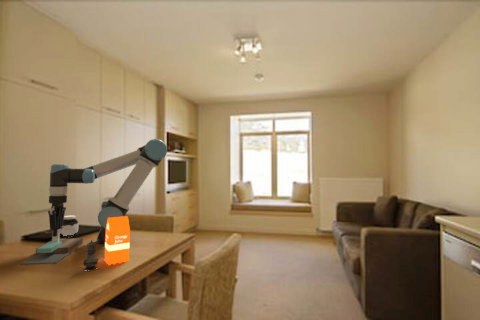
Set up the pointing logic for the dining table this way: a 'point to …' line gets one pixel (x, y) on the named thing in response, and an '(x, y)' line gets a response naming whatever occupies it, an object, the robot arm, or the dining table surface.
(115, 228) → the orange juice
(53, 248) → the card
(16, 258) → the dining table surface
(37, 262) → the mat
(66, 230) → the spread jar
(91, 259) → the black chess piece
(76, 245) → the brown flat block
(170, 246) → the dining table surface
